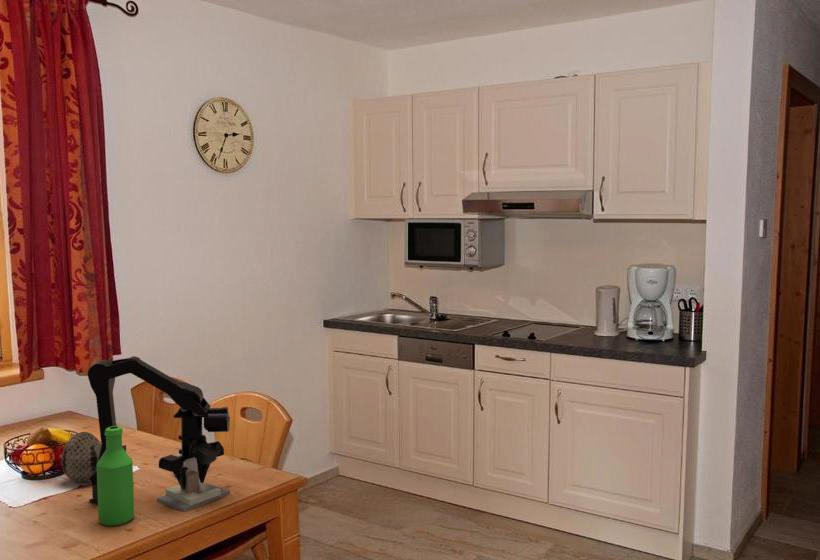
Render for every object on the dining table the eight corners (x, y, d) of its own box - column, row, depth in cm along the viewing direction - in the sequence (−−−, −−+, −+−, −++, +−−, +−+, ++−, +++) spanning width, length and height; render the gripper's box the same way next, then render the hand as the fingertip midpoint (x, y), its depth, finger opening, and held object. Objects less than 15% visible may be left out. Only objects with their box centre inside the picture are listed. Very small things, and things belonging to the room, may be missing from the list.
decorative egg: (54, 482, 227) (52, 433, 225) (91, 471, 236) (89, 424, 235) (75, 491, 220) (73, 441, 218) (112, 480, 229) (111, 431, 228)
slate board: (184, 511, 206) (184, 497, 206) (156, 501, 213) (156, 487, 212) (230, 493, 219) (229, 480, 219) (202, 484, 226) (202, 471, 225)
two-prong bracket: (190, 505, 208) (189, 482, 207) (165, 494, 215) (164, 472, 215) (220, 494, 215) (220, 472, 215) (195, 484, 223) (195, 462, 222)
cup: (183, 479, 230) (182, 454, 229) (167, 473, 235) (166, 448, 234) (212, 470, 239) (211, 445, 238) (196, 464, 243) (195, 440, 243)
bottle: (112, 529, 194) (109, 434, 192) (91, 522, 199) (88, 429, 196) (141, 518, 202) (138, 426, 199) (120, 511, 206) (117, 421, 204)
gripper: (183, 445, 202) (184, 502, 203) (236, 429, 217) (237, 482, 218) (156, 438, 208) (158, 493, 210) (210, 422, 223) (211, 474, 225)
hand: (192, 485), depth 215 cm, fingers open, 6 cm apart
